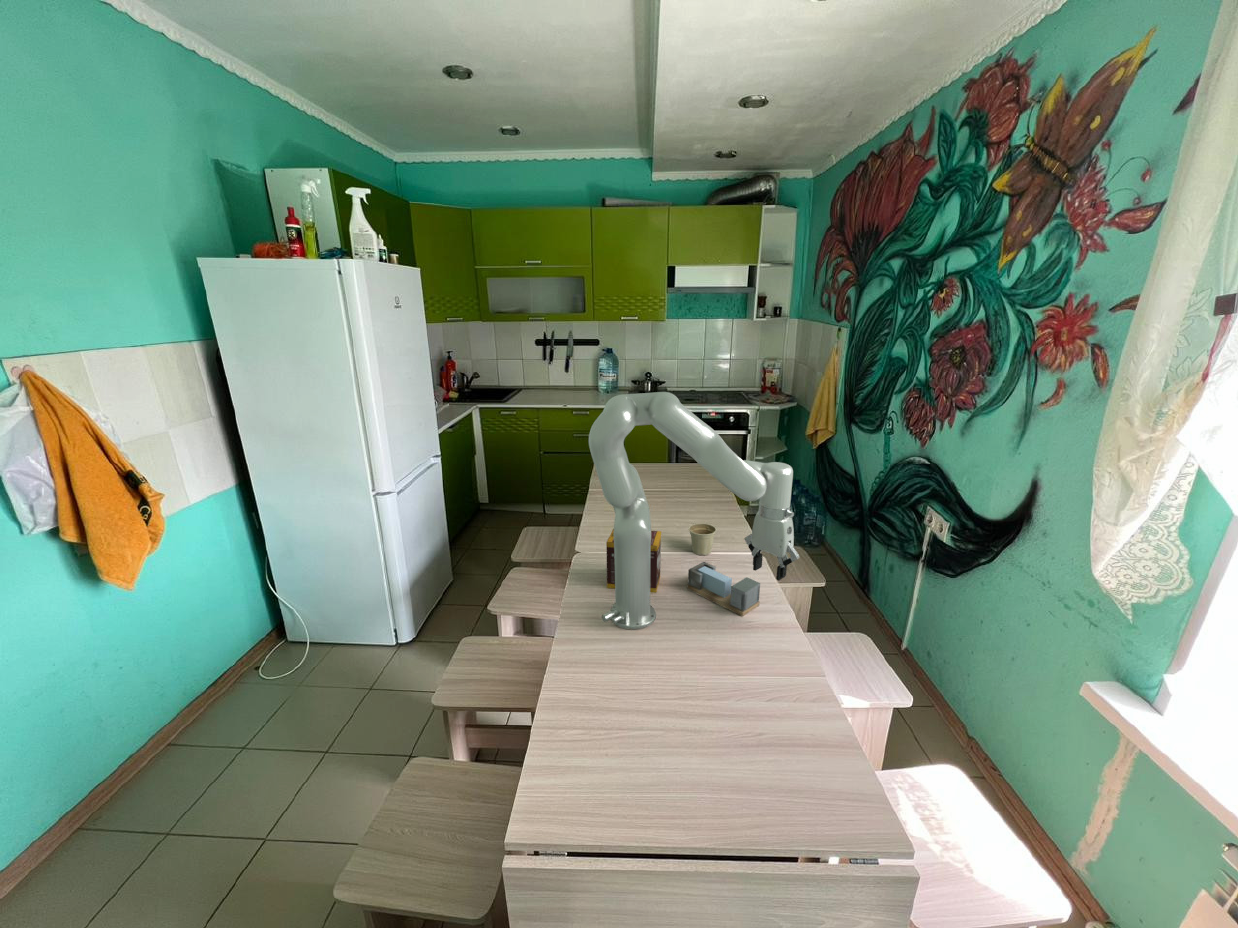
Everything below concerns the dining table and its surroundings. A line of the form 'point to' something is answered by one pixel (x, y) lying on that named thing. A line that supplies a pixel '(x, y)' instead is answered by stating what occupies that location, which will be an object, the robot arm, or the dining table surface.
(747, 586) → the grey concrete block
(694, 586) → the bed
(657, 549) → the supplement box
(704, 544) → the flower pot
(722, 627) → the dining table surface
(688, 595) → the dining table surface
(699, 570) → the light blue block
